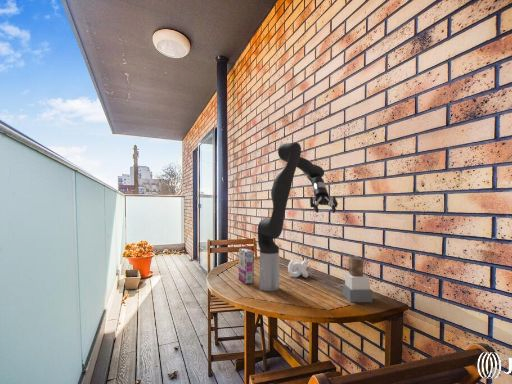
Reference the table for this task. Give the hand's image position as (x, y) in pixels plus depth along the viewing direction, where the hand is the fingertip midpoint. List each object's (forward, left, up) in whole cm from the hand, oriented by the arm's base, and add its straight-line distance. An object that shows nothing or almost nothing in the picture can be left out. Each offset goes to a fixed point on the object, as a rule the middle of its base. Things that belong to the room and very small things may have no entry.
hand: (325, 211), depth 131 cm
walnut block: (+7, -21, -27) cm, 35 cm away
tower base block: (+7, -21, -37) cm, 43 cm away
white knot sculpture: (-13, +13, -37) cm, 41 cm away
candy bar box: (-42, +3, -37) cm, 56 cm away
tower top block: (+7, -21, -32) cm, 39 cm away
